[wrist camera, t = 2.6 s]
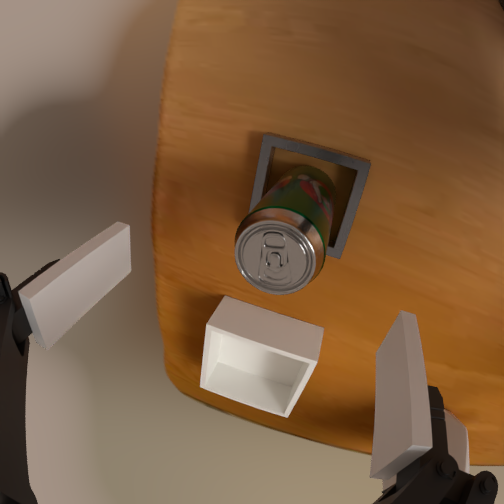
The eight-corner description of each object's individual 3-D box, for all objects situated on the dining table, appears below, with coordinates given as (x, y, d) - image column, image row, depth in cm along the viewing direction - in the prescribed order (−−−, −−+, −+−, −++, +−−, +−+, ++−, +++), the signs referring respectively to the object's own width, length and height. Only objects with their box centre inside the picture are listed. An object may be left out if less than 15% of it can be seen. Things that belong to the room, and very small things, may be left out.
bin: (225, 295, 34) (206, 323, 30) (324, 327, 32) (317, 361, 28) (215, 359, 40) (199, 386, 35) (296, 387, 38) (287, 417, 34)
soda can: (278, 219, 28) (231, 295, 18) (277, 163, 26) (223, 211, 16) (335, 222, 27) (320, 305, 17) (337, 165, 24) (325, 216, 14)
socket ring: (268, 132, 25) (263, 134, 23) (369, 160, 23) (371, 164, 22) (250, 223, 29) (245, 230, 28) (340, 251, 28) (339, 259, 26)
